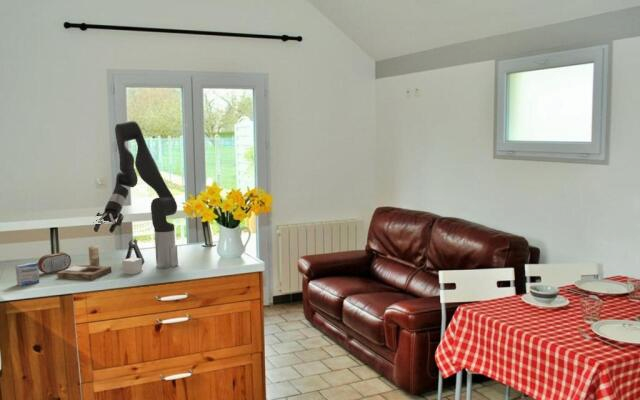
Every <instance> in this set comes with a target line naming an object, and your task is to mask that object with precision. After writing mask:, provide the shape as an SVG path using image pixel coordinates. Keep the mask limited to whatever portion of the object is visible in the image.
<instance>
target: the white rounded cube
mask: <svg viewBox="0 0 640 400" xmlns="http://www.w3.org/2000/svg"><path fill="white" fill-rule="evenodd" d="M125 259H126V258H125ZM125 259H123V260H122V270H123V271H122V273H123V274H127V275H129V274H131V275H136V274H137V273H140V272H142V271H143V265H142V259H141V258H137V257H130V258H129V259H126V260H125Z"/></svg>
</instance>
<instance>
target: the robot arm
mask: <svg viewBox="0 0 640 400" xmlns="http://www.w3.org/2000/svg"><path fill="white" fill-rule="evenodd" d="M114 132H115V134H114V135H115V139H116V144H117V150H118V151H117V152H118V155H119V156H118V157H119V172H118V173H117V174H116V178H115V179H116V180H115V186H114V189H113V192H112V194H111V195H110V197H109V199H108V201H107V203H106V206H105V208H104V211H103V213H100V212H97V214H96V215H95V217H96V216H102V217H101V218H100V219H99V220H100V221H98V223H101V224H94V227H93V231H94V232H95V233H98V231H99V229H100V228H101V227H100V226H102V225H104V224H106V222H103V221H109V222H108V223H110V222H111V225H110V228H109V231H108V232H109V233H110V234H111V233H113V232H115V229H116V227H118V226H119V227H120V226H121V225H122V222H123V220H124V218H125V217H124V215H123V214H122V213H121V212H122V210H123V207H124V205H125V202H126V199H127V197H128V195H129V189H128V188H127V187H129V188H135V187H136V186H137V184H138V181H139V179H138V175H139V177H140V179H141V180H142V181H143V182H144V183H146V184H147V185H148V186H149V187H150V188H152V190H153V191H154V192H155V193H156V194H157V196H158V197H156V198H153V199H152V200H151V203H150V214H151V222H152V226H153V229H154V232H153V233H154V245H155V247H154V248H155V249H154V250H155V264H156V268H159V269H169V268H170V269H171V268H172V269H173V268H174V267H176V266H178V265H179V257H178V253H179V252H178V245H177V244H176V234H175V224H174V223H172V222H169V221H167V217H169V216H173V215H175V214H176V212H177V210H178V204H177V201H176V199H175V197H174V195H173V194H172V192H171V190H170V189H169V188H168V186H167V184H166V182H165V180H164V178H163V176H162V175H161V172H160V170H159V167H158V165H157V163H156V162H155V159H154V157H153V155H152V153H151V151H150V149H149V146H148V145H147V142H146V139H145V137H144V134H143V132H142V128H141V127H140V125H139V123H138V122H137V120H135V119H133V120H131V119H130V120H127V121H122V122H118V123H117V124H115V127H114ZM133 140H135V142H136V145H137V150H136V155H135V157H134V155H133V153H132V152H131V151H130V150H129V149H128V147H126V142H130V141H133ZM136 170H137V172H136ZM137 173H138V175H137ZM101 220H102V221H101Z"/></svg>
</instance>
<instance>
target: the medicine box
mask: <svg viewBox="0 0 640 400" xmlns="http://www.w3.org/2000/svg"><path fill="white" fill-rule="evenodd" d="M39 271H40V270H39V269H38V262H35V261H33V262H27V263H23V264H18V265H15V275H16V284H17V285H18V286H20V287H25V286H28V285H33V284H36V283H40V273H39ZM24 285H25V286H24Z"/></svg>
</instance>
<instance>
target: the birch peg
mask: <svg viewBox="0 0 640 400" xmlns="http://www.w3.org/2000/svg"><path fill="white" fill-rule="evenodd" d="M87 248H88V259H89V266H101V265H100V250H99V246H98V245H91V246H88V247H87Z"/></svg>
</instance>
